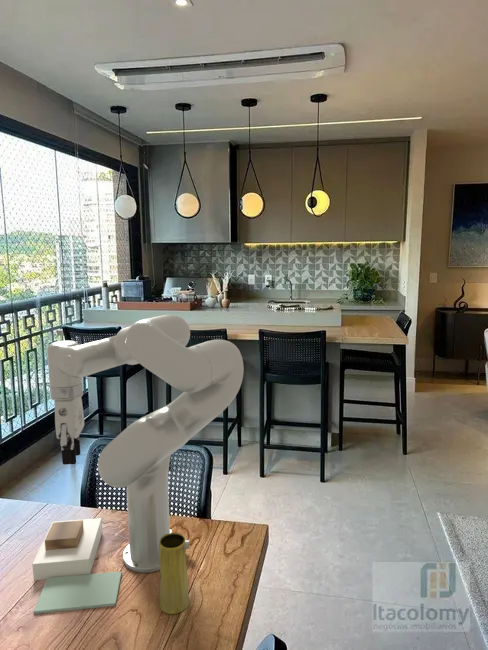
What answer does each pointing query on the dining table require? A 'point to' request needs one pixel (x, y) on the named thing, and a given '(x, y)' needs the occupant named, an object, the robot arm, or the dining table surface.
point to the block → (64, 535)
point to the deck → (70, 554)
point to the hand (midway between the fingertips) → (71, 458)
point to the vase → (173, 574)
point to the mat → (79, 592)
